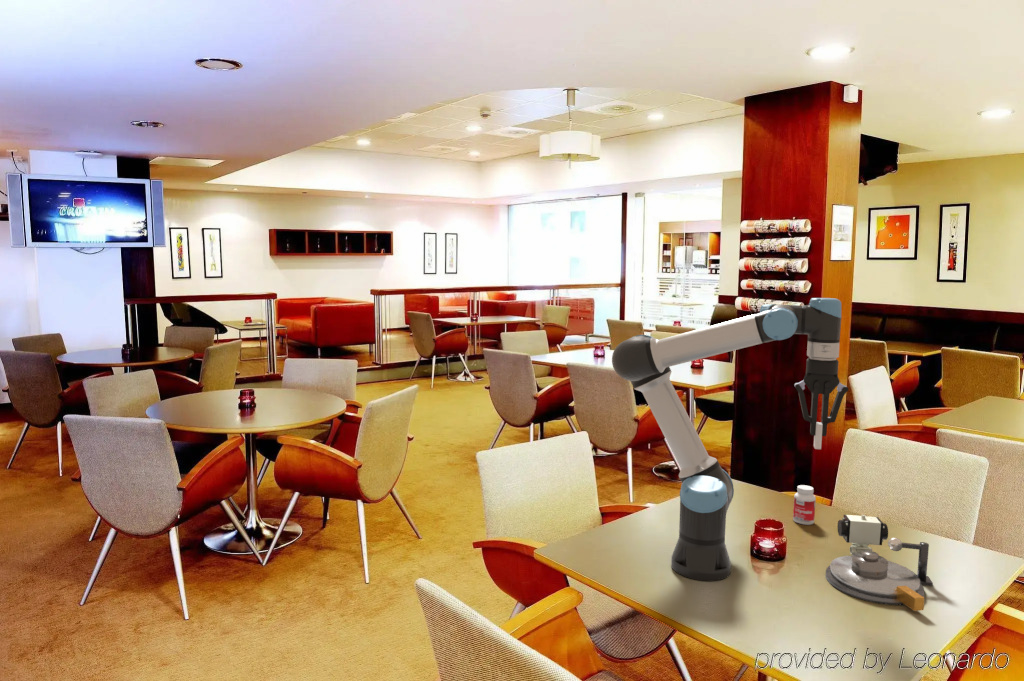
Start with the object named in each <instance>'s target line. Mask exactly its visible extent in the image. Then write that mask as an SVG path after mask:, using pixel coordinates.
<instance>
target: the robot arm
mask: <svg viewBox="0 0 1024 681" xmlns="http://www.w3.org/2000/svg"><path fill="white" fill-rule="evenodd" d="M759 308H760V310H759V312H757V313H754V314H751V315H750V314H749V315H746V316H743V317H739V318H734V319H731V320H728V321H723V322H721V323H716V324H713V325H708V326H705V327H701V328H698V329H693V330H690V331H689V330H688V331H686V332H682V333H679V334H675V335H672V336H668V337H663V338H660V339H658V338H656V337H654V336H653V335H649V334H648V335H647V334H646V335H645V334H637V335H635V336H632V337H630V338H628V339H625V340H623V341H622V342H620V343H618V344H617V345H616V347H615V348H614V350H613V353H612V355H611V364H612V367H613V368H612V369H613V370H614V372H615V373H616V374H617V375H618V376H619V377H620V378H621V379H623V380H625V381H629V382H630V384H631V385H632V387H633V389H634V390H636V391H638V392H641V393H642V395H643V397H644V399H645V401H646V403H647V404H648V408H650V411H651V413H652V415H653V417H654V419H655V420H656V423H657V425H658V427H659V428H660V430H661V432H662V435H663V436H664V438H665V440H666V442H667V444H668V447H669V448H670V450H671V452H672V454H673V456H674V458H675V461H676V462H677V464H678V466H679V468H680V471H679V473H678V477H679V481H680V482H681V487H680V490H679V499H680V501H679V504H680V505H679V523H678V524H679V529H678V538H677V542H676V544H675V546H674V550H673V552H672V555H671V560H670V561H671V562H670V565H671V568H672V570H673V571H674V572H676V573H677V574H679V575H680V576H682V577H685V578H688V579H691V580H696V581H704V582H706V581H707V582H713V581H715V582H716V581H720V580H723V579H726V578H727V577H729V576H730V575H731V569H732V563H731V560H730V556H729V553H728V549H727V545H726V527H727V526H726V523H727V522H726V521H727V513H728V509H729V507H730V506H731V503H732V501H733V498H734V492H735V489H734V482H733V479H732V478H731V476H730V475H729V473H728V472H727V471H726V470H724V469H723V468H722V466H721V465H720V463H719V461H718V459H717V458H716V457H713V456H710V455H709V453H708V451H707V450H706V447H705V446H704V444H703V441H702V439H701V437H700V436H699V433H698V432H697V429H696V428H695V426H694V424H693V422H692V420H691V418H690V416H689V415H688V412H687V410H686V408H685V406H684V405H683V402H682V401H681V399H680V397H679V395H678V393H677V391H676V389H675V387H674V385H673V383H672V380H670V377H671V374H672V369H671V368H670V367H673V366H677V365H681V364H685V363H689V362H693V361H697V360H701V359H705V358H709V357H714V356H717V355H721V354H725V353H728V352H732V351H736V350H737V351H738V350H741V349H744V348H749V347H753V346H756V345H761V344H764V343H770V342H773V341H783V340H787V339H789V338H791V337H792V336H793V335H807V347H806V349H807V350H806V356H807V357H808V358H807V359H806V361H805V362H806V363H805V364H806V365H805V367H806V368H805V374H804V376H803V380H801V381H799V382H795V383H794V384H793V385H794V387H795V389H796V391H797V393H798V398H799V402H800V406H801V407H800V408H801V412H802V418H803V419H804V421H806V422H809V423H810V426H809V427H810V428H809V433H810V435H811V436H813V448H814V449H815V450H822V444H823V442H822V441H823V437H826V436H827V432H828V430H827V429H828V424H831V423H835V422H836V420H837V417H838V414H839V411H840V408H841V405H842V402H843V399H844V396H845V395H846V393H847V392H848V391H849V387H848V386H847V385H845V384H842V383H841V382H840V378H839V363H840V362H839V360H838V358H840V342H841V330H842V329H841V327H842V301H841V300H840V299H838V298H833V297H832V298H831V297H811V298H810V300H809V303H808V304H806V305H804V304H803V305H798V304H797V305H796V304H794V305H793V304H776V303H773V304H772V303H771V304H762V305H761V306H760V307H759ZM805 385H806V386H807V389H808V390H809V391H810V393H811V405H810V406H811V407H810V415H809V410H808V406H807V401H806V396H805V392H804V390H805V389H806V387H805ZM836 387H837V388H836ZM835 389H836V391H837V392H836V394H835V398H834V401H833V403H832V407H831V410H830V413H829V405H830V404H829V403H830V401H829V400H830V394H831V393H832V392H833V391H834V390H835ZM819 395H822V398H821V399H822V400H821V401H822V402H821V416H820V418H821V419H820V422H819V421H818V407H819V405H818V404H819Z"/></svg>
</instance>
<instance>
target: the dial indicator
mask: <svg viewBox="0 0 1024 681" xmlns="http://www.w3.org/2000/svg"><path fill="white" fill-rule="evenodd" d="M887 545H888V547H889V548H890V550H891V551H893V552H899V551H901V550H903V549H908V550H909V549H910V550H918V562H917V574H916V575H917V576H918V577H919V579H920V583H921V584H922V586H930V587H933V585H934V583H933V580H932V579H931V578H930V576H928V575H927V574H928V573H927V572H928V571H927V570H928V561H929V548H930V543H927V542H924V541H920V542H919V543H910V542H902V540H901V539H900V538H898V537H891V538H890V539H889V538H888V541H887Z"/></svg>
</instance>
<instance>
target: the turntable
mask: <svg viewBox="0 0 1024 681" xmlns="http://www.w3.org/2000/svg"><path fill="white" fill-rule="evenodd" d="M887 561H888V572H887V578H885V579H881V580H874V579H868V578H864V577H861V576H858V575H856V574H855V573H853V572H852V555H843V556H839V557H838V556H837V557H836V558H834V559H832V560H831V562H830V564H829V566H830V573H831V575H832V577H833V578H834V579H835V580H836V581H838V582H839V583H841V584H842V585H844V586H846V587H848V588H851V589H853V590H856V591H859V592H862V593H865V594H869V595H873V596H879V597H887V598H896V599H898V600H899V601H900V602H902V603H903V604H905V605H904V606H906V607H907V608H909V609H911V610H912V611H913V612H917V611H924V608H925V596H924V597H923V596H921V595H919V594H918V592H919V590H920V579H919V577H918V576H917V574H916V573H915V572H914V571H913V570H911V569H909V568H907V567H906V566H903V565H901V564H899V563H896V562H893V561H890V560H887Z"/></svg>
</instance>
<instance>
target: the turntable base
mask: <svg viewBox="0 0 1024 681" xmlns="http://www.w3.org/2000/svg"><path fill="white" fill-rule="evenodd" d="M825 579H826V581H827V582H828V583H829V584H830V585H831V586H832V587H833V588H835V589H836V590H838V591H840V592H841V593H843V594H845V595H848V596H850V597H853V598H856V599H858V600H862V601H865V602H869V603H874V604H880V605H886V606H906V605H905V604H903V603H902V602H900V601H899V600H898V599H896V598H887V597H879V596H873V595H869V594H865V593H862V592H859V591H856V590H853V589H851V588H848V587H846V586H844V585H842V584H841V583H839V582H838V581H836V580H835V579H834V578H833V577H832V575H831V573H830V565H828V566H827V567H826V569H825ZM918 594H919V595H921V596H923V597H924V598H925V588H924V585H922V584H921V583H920V590H919V592H918Z"/></svg>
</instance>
